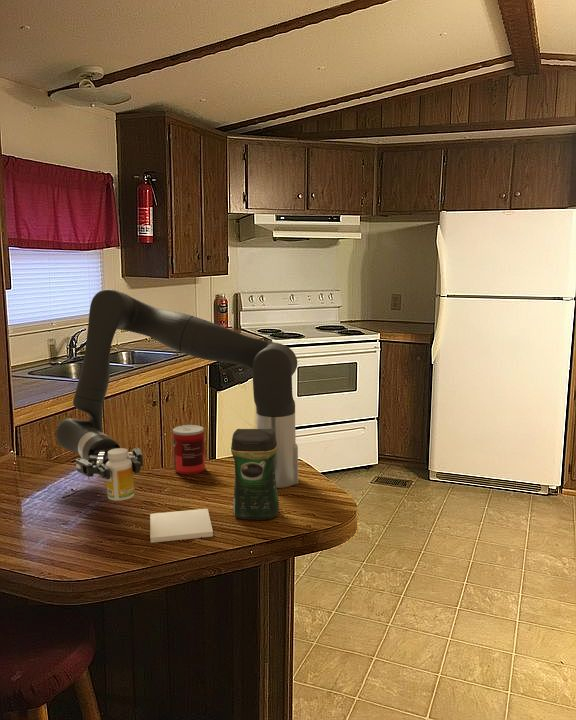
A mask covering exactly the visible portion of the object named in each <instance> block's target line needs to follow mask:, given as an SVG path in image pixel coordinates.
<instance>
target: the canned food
mask: <svg viewBox="0 0 576 720" xmlns="http://www.w3.org/2000/svg"><path fill="white" fill-rule="evenodd" d="M172 441H173V442H172V443H173V445H172V446H173V461H174V465H173V466H174V469H175V473H177V472H178V473H177V474H179V473H181V474H180V475H182V474H194V475H198V474H197V473H199V474H201V473H203V472H204V471H205V468H206V457H205V456H206V454H205V453H206V452H205V429H204V427H203V426H202V425H201V426H200V425H197V424H183V425H179V426H175V427H174V428H173V429H172ZM202 471H203V472H202ZM200 472H201V473H200Z"/></svg>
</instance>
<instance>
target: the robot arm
mask: <svg viewBox="0 0 576 720" xmlns="http://www.w3.org/2000/svg"><path fill="white" fill-rule="evenodd" d="M87 324H88V326H87V333H86V342H85V348H84V355H83V360H82V365H81V369H80V370H81V371H80V374H79V378H78V382H77V384H76V389H75V393H74V396H73V401H72V405H73V407H74V408H75V409H77V410H79V411H82V412H84V413H86V414H87V415H88V420H83V419H80V418H79V419H77V418H71V417H69V418H65V419H63V420H62V421H60V423H59V424H58V426H57V427H56V431H55V437H56V440H57V442H58V444H59V445H60V446H61V448H63V449H65V450H68V451H71V452H73V453H76V454H78V455H79V456H80V458H78V457H77V458H76V459H75V464H76V465H75V466H76V467H75V468H76V472H77V473H80V474H82V475H84V476H86V477H88V478H91V477H94V475H96V476H98V477H100V478H102V479H105V481H106V480H107V479H110V470H109V468H108V467H107V466H106V463H107V462H108V461H109V459H108V451H109V450H112V449H117V448H122V447H121V446H120V444H119V443H118V442H117V441H115V440H114V439H113V438H111V437H110V436H109V435H108V434H105V433H104V432H103V407H104V403H105V398H106V394H107V390H108V387H109V382H110V377H111V375H110V374H111V373H110V372H111V371H110V370H111V368H110V367H111V365H110V364H111V360H110V359H111V358H110V357H111V349H112V343H113V339H114V337H115V335H116V332H117V330H120V331H126V332H131V333H135V334H139V335H142V336H143V335H144V336H146V337H149V338H150V339H151V338H152V339H153V340H155V341H157V342H159V343H161V344H162V345H164V346H166V347H167V348H170V349H172V350H174V351H177V352H179V353H182V354H185V355H188V356H191V357H194V358H197V359H200V360H201V359H202V360H207V361H212V362H221V363H229V364H236V365H240V366H243V367H246V368H248V369H250V370H252V389H253V390H252V391H253V401H254V405H255V409H256V429H273V430H274V432H275V436H276V441H277V452H276V455H275V458H274V465H275V478H276V486H277V489H283V488H288V487H291V486H293V485H299V448H298V443H296V440H297V438H296V436H297V435H296V401H295V400H294V397H293V396H294V395H293V376H294V374H295V372H296V370H297V368H298V358H297V355H296V354H295V352H294V351H293V350H292V349H291V348H290V347H289V346H287V345H285V344H282V343H279V342H273V341H270V340H264V339H260V338H257V337H252V336H248V335H245V334H242V333H239V332H237V331H235V330H232V329H231V328H227V327H225V326H222V325H219V324H217V323H214V322H212V321H209V320H206V319H203V318H200V317H197V316H193V315H191V314H186V313H183V312H179V311H178V312H177V311H173V310H165V309H162V308H157V307H154V306H152V305H150V304H148V303H145V302H143V301H140V300H139V299H136V298H135V297H132V296H130V295H129V294H127V293H124V292H121V291H119V290H116V289H111V288H106V289H101V290H99V291H98V292H97V293H95V295H94V296H93V297H92V299H91V302H90V306H89V314H88V323H87ZM127 459H130V460H131V461H132V466H133V474H139V473H140V471H142V467H143V466H144V461H143V459H144V458H143V452H142V451H141V448H139V447H138V446H137V447H133V449H132V450H131V451H128V457H127Z"/></svg>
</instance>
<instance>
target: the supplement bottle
mask: <svg viewBox="0 0 576 720" xmlns="http://www.w3.org/2000/svg"><path fill="white" fill-rule="evenodd" d="M128 452H129V450H128V449H127V448H123V447H121V448H117V449H112V450H109V451H108V459H109V461H108V462H107V463H106V466H107V467H108V468H109V470H110V479H107V480H106V479H105V482H106V493H107V498H108V499H109V500H110V501H117V502H118V501H119V502H120V501H124V500H129V499H131V498H132V497H134V495H135V480H134V479H135V478H134V472H133V466H132V461H131V460H130V459H127V457H128Z"/></svg>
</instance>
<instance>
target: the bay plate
mask: <svg viewBox="0 0 576 720" xmlns="http://www.w3.org/2000/svg"><path fill="white" fill-rule="evenodd" d="M149 515H150V516H149V519H150V520H149V524H150V525H149V526H150V527H149V528H150V529H149V533H150V535H149V537H150V543H160V542H161V543H163V542H170V541H179V540H181V541H183V540H190V539H200V538H201V537H202V538H209V537H214V530H213V527H212V522H211V517H210V513H209V509H208V508H199V509H188V510H187V509H186V510H179V511H178V510H177V511H167V512H157V513H155V512H154V513H149ZM202 538H201V539H202Z"/></svg>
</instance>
